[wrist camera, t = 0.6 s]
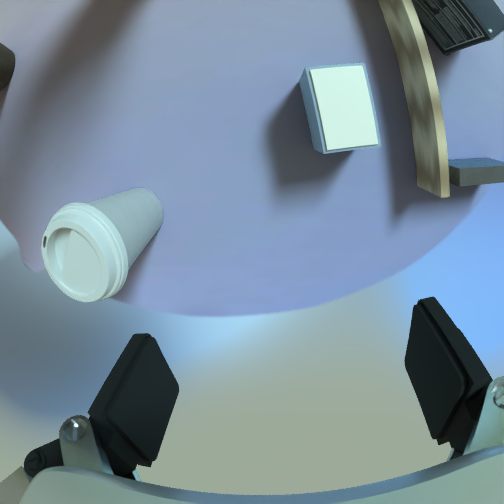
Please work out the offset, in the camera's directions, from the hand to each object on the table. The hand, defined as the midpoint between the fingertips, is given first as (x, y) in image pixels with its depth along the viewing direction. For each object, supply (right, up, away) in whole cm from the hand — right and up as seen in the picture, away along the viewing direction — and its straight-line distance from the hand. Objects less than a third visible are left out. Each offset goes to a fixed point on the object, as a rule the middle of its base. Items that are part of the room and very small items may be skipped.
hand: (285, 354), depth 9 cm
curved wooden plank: (+23, +27, +14) cm, 38 cm away
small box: (+22, +34, +11) cm, 42 cm away
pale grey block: (+7, +19, +19) cm, 28 cm away
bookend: (+26, +15, +19) cm, 36 cm away
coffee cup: (-15, +9, +25) cm, 31 cm away
